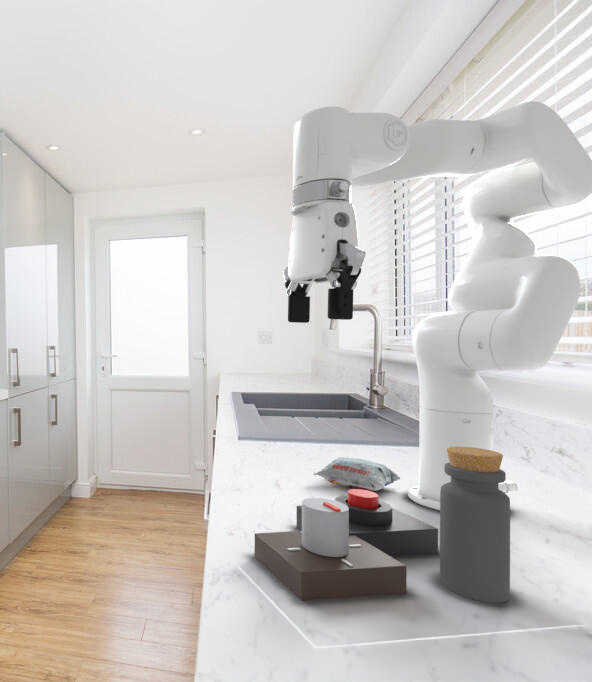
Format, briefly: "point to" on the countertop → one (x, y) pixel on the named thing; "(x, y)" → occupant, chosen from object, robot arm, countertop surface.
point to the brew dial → (325, 527)
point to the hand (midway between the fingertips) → (317, 320)
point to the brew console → (329, 568)
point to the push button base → (388, 529)
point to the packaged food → (358, 474)
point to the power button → (363, 499)
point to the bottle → (475, 526)
